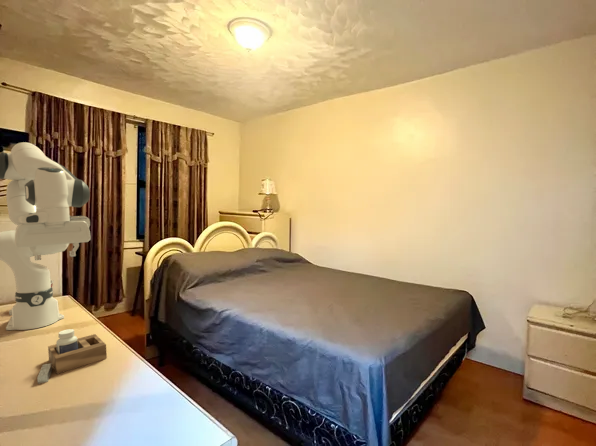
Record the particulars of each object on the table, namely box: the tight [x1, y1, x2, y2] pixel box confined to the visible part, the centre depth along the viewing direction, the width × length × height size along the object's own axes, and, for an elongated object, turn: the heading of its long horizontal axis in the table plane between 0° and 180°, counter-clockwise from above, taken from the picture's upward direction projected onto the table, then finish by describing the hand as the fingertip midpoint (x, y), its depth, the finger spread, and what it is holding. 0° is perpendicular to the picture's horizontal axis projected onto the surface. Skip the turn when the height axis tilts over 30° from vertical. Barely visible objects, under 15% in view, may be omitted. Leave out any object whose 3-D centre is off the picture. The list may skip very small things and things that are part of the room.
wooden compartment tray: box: [47, 333, 108, 375], centre depth 104 cm, size 12×13×4 cm
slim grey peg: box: [37, 362, 53, 385], centre depth 94 cm, size 8×2×2 cm, turn 29°
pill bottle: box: [55, 328, 78, 355], centre depth 102 cm, size 5×5×10 cm
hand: (55, 258), depth 110 cm, fingers open, 8 cm apart
